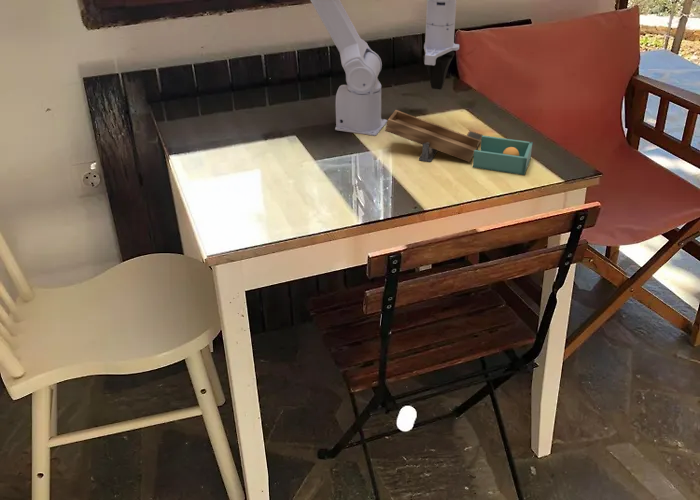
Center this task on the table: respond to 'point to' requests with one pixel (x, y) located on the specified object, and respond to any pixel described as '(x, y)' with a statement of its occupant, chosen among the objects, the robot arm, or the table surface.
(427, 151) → the fulcrum
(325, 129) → the table surface
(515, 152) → the ball
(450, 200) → the table surface
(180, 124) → the table surface
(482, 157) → the teal open-ended tray
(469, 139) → the lever
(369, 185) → the table surface
